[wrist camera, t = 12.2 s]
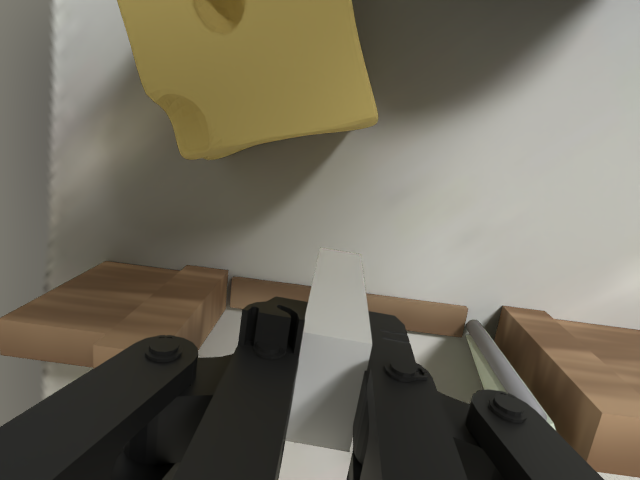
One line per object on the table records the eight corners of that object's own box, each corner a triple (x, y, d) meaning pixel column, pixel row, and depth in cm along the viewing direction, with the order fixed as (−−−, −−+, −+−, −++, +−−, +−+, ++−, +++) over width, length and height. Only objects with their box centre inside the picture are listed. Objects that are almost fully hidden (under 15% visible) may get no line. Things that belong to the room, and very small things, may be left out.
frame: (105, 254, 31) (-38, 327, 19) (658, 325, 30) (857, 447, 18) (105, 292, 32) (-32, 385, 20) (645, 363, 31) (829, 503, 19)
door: (461, 323, 30) (518, 414, 20) (506, 308, 30) (586, 394, 20) (528, 519, 34) (603, 675, 24) (568, 508, 33) (662, 663, 24)
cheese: (217, 158, 29) (154, 172, 19) (174, -15, 26) (77, -100, 17) (369, 127, 28) (384, 125, 18) (339, -56, 25) (338, -171, 16)
